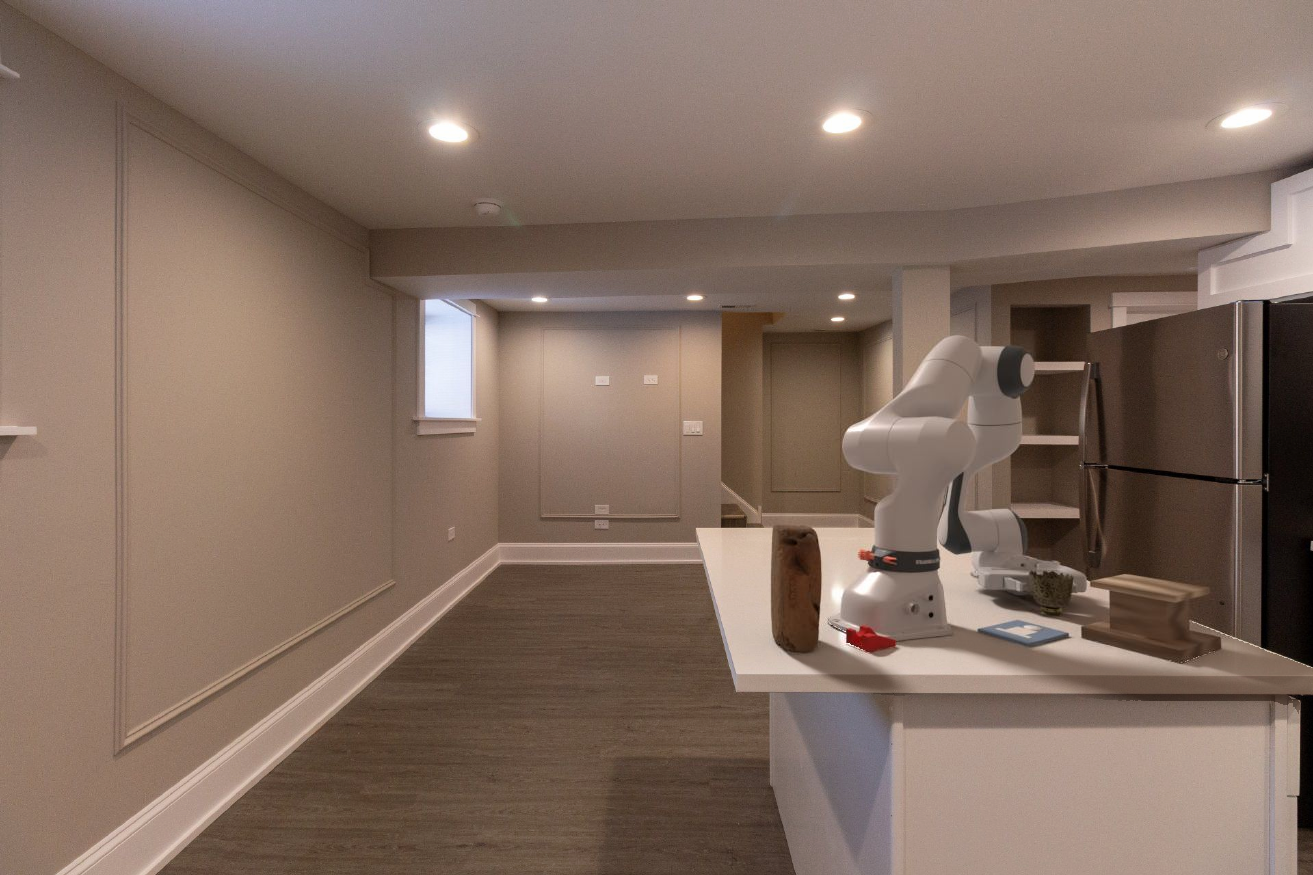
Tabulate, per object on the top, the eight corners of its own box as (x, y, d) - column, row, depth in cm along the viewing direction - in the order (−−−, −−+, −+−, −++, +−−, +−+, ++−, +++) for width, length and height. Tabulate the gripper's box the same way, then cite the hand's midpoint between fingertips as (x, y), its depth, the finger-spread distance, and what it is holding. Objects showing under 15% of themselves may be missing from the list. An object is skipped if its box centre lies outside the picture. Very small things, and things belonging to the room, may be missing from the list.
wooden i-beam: (1180, 663, 92) (1179, 598, 92) (1081, 637, 104) (1080, 580, 104) (1221, 648, 98) (1220, 588, 98) (1122, 626, 111) (1122, 572, 111)
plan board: (1028, 647, 99) (1028, 642, 100) (977, 632, 107) (977, 628, 107) (1068, 636, 105) (1068, 632, 105) (1017, 622, 113) (1017, 619, 113)
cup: (1060, 609, 122) (1060, 570, 122) (1082, 619, 115) (1082, 578, 115) (1022, 608, 123) (1021, 569, 123) (1041, 618, 116) (1041, 577, 116)
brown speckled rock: (769, 633, 107) (768, 522, 107) (811, 634, 107) (810, 522, 107) (779, 654, 96) (778, 530, 96) (826, 655, 96) (825, 530, 96)
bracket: (868, 655, 97) (868, 636, 97) (846, 646, 101) (846, 628, 101) (895, 648, 100) (895, 630, 100) (873, 640, 104) (873, 623, 104)
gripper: (966, 558, 135) (993, 571, 121) (1064, 560, 132) (1102, 573, 119) (967, 586, 135) (993, 602, 121) (1064, 589, 132) (1103, 605, 119)
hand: (1048, 588), depth 120 cm, fingers open, 8 cm apart
